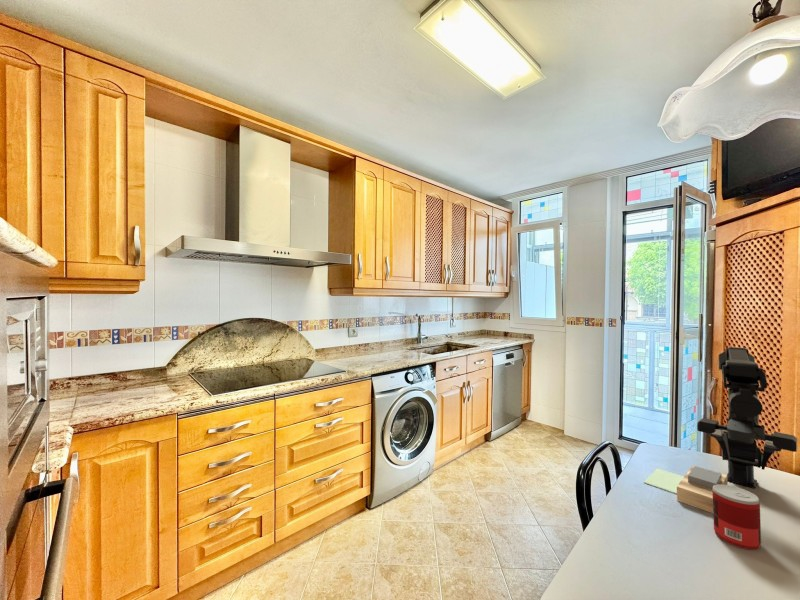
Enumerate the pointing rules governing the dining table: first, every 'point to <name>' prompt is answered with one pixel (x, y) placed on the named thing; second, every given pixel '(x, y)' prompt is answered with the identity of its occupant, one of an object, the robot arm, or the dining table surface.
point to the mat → (664, 480)
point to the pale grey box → (704, 477)
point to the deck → (696, 493)
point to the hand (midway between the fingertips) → (745, 464)
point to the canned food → (737, 516)
